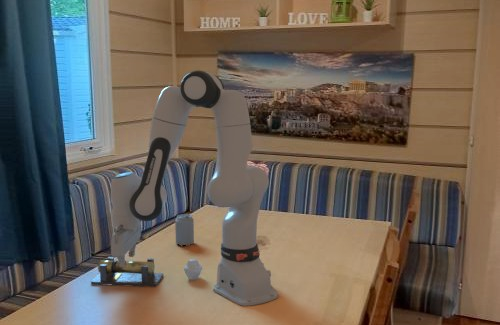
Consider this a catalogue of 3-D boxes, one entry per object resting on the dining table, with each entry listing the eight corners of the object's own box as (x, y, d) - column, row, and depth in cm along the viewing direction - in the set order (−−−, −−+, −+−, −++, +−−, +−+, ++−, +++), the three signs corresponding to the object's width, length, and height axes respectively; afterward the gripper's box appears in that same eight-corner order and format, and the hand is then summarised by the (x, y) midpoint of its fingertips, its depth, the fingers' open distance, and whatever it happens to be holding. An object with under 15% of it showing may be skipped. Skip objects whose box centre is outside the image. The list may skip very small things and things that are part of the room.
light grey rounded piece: (185, 282, 166) (185, 262, 165) (182, 275, 172) (182, 256, 171) (203, 280, 168) (203, 261, 167) (200, 273, 174) (200, 254, 173)
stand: (163, 276, 172) (162, 258, 171) (156, 286, 163) (155, 268, 162) (101, 274, 174) (100, 256, 173) (91, 284, 165) (90, 265, 164)
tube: (155, 267, 169) (153, 259, 166) (152, 276, 165) (150, 268, 163) (103, 266, 170) (101, 257, 168) (99, 274, 167) (97, 266, 165)
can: (192, 246, 202) (192, 218, 200) (174, 246, 202) (173, 218, 200) (195, 241, 209) (194, 213, 207) (177, 240, 209) (176, 213, 207)
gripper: (124, 230, 154) (126, 273, 157) (143, 213, 174) (145, 251, 177) (104, 230, 155) (107, 272, 157) (126, 213, 175) (127, 250, 177)
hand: (127, 261), depth 167 cm, fingers open, 8 cm apart
